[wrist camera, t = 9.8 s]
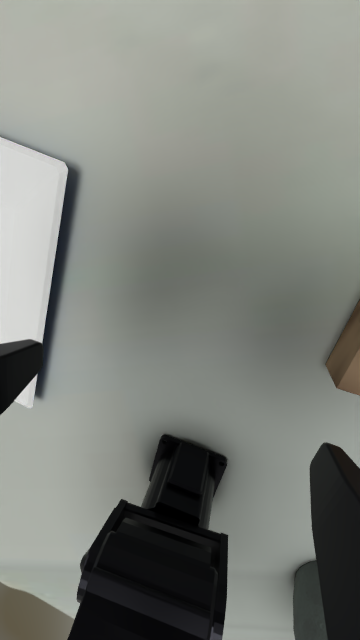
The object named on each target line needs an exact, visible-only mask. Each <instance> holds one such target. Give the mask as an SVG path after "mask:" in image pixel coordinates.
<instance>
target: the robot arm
mask: <svg viewBox="0 0 360 640" xmlns="http://www.w3.org/2000/svg"><path fill="white" fill-rule="evenodd" d="M42 365H43V344H42V343H41V342H38V341H35V340H32V339H26V340H20V341H14V342H8V343H2V344H0V415H1V414H2V413H3V412H4V411H5V410H6V409H7V408H8V407H9V406H10V405H11V404H12V403H13V401H14V400H15V399H16V398H17V397H18V396H19V395H20V393H21V392H22V391H23V390H24V389H25V388H26V386H27V385H28V384H29V383H30V382H31V381H32V380H33V378H34V377H35V376H36V375H37V374H38V373H39V371H40V370H41V368H42ZM164 440H166V441H164ZM226 466H227V459H226V458H225V457H223V456H221V455H218V454H215V453H213V452H210V451H207V450H205V449H202V448H199V447H197V446H194V445H191V444H189V443H186V442H183V441H181V440H178V439H175V438H173V437H170V436H167V435H163V436H162V437H161V439H160V441H159V445H158V449H157V453H156V456H155V460H154V464H153V467H152V471H151V475H150V478H149V481H150V485H149V487H148V490H147V493H146V495H145V498H144V500H143V503H142V506H141V507H139V506H136V505H134V504H131V503H128V501H126V500H123V499H121V500H120V502H119V504H118V505H117V507H116V508H114V510H113V511H112V513H111V515H110V516H109V518H108V519H107V521H106V523H105V524H104V526H103V528H102V529H101V531H100V533H99V534H98V536H97V538H96V539H95V541H94V542H93V544H92V546H91V547H90V549H89V550H88V551H87V552H86V554H85V555H84V556H83V558H82V560H81V563H80V568H81V572H82V575H81V579H80V583H79V587H78V592H77V602H79V603H80V606H79V609H78V612H77V615H76V617H75V620H74V623H73V626H72V629H71V632H70V634H69V637H68V639H67V640H222V635H223V628H224V620H225V611H226V599H227V564H228V535H227V534H224V533H221V534H219V533H216V532H213V531H210V530H208V528H209V521H210V514H211V507H212V500H213V497H214V494H215V492H216V490H217V487H218V485H219V483H220V480H221V478H222V476H223V473H224V471H225V469H226ZM310 492H311V519H312V531H313V539H314V546H315V553H316V560H317V568H318V575H319V582H320V589H321V596H322V603H323V610H324V618H325V625H326V632H327V639H328V640H360V468H359V467H358V466H357V465H356V464H355V463H354V462H353V461H352V460H351V459H350V457H349V456H348V455H347V454H346V453H345V452H344V451H343V450H342V449H341V448H340V447H338V446H336V445H333V444H330V443H323V444H322V445H321V446H320V448H319V450H318V451H317V453H316V455H315V456H314V458H313V460H312V462H311V464H310Z"/></svg>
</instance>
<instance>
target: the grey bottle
mask: <svg viewBox="0 0 360 640" xmlns="http://www.w3.org/2000/svg"><path fill="white" fill-rule="evenodd" d="M293 618H294V635H295V640H328V639H327V632H326V625H325V618H324V610H323V603H322V596H321V589H320V582H319V575H318V568H317V561H313V562H309V563H307V564H305V565H303V566H301V567H300V569H299V570H298V571H297V573H296V579H295V586H294V595H293Z"/></svg>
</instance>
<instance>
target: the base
mask: <svg viewBox="0 0 360 640" xmlns="http://www.w3.org/2000/svg"><path fill="white" fill-rule="evenodd" d="M326 367H327V369H328V371H329V373H330V375H331V377H332V379H333V381H334V384H335V386H336V388H338V389H341V390H344V391H347V392H350V393H353V394H357V395H360V300H359V302H358V304H357V306H356V307H355V309H354V311H353V313H352V315H351V317H350V319H349V321H348V323H347V325H346V326H345V328H344V330H343V332H342V334H341V336H340V338H339V340H338V342H337V344H336V345H335V347H334V349H333V351H332V353H331V355H330V357H329V359H328V361H327V363H326Z"/></svg>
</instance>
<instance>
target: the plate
mask: <svg viewBox="0 0 360 640" xmlns="http://www.w3.org/2000/svg"><path fill="white" fill-rule="evenodd" d="M67 174H68V168H67V166H66V164H65V162H62V161H60V160H57V159H55V158H52V157H50V156H47V155H45V154H42V153H39V152H37V151H34V150H32V149H29V148H27V147H24V146H22V145H19V144H17V143H14V142H12V141H9V140H6V139H4V138H1V137H0V344H2V343H8V342H14V341H20V340H26V339H32V340H35V341H38V342H41V343H42V341H43V334H44V328H45V321H46V314H47V308H48V301H49V294H50V287H51V281H52V274H53V267H54V261H55V254H56V247H57V241H58V234H59V227H60V221H61V214H62V207H63V201H64V194H65V187H66V181H67ZM36 381H37V375H36V376H35V377H34V378H33V380H32V381H31V382H30V383H29V384H28V385H27V386H26V388H25V389H24V390H23V391H22V392H21V393H20V395H19V396H18V397H17V398H16V399H15V400H14V401H15V402H17V403H19V404H21V405H23V406H26V407H28V408H32V407H33V401H34V394H35V388H36Z"/></svg>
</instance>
